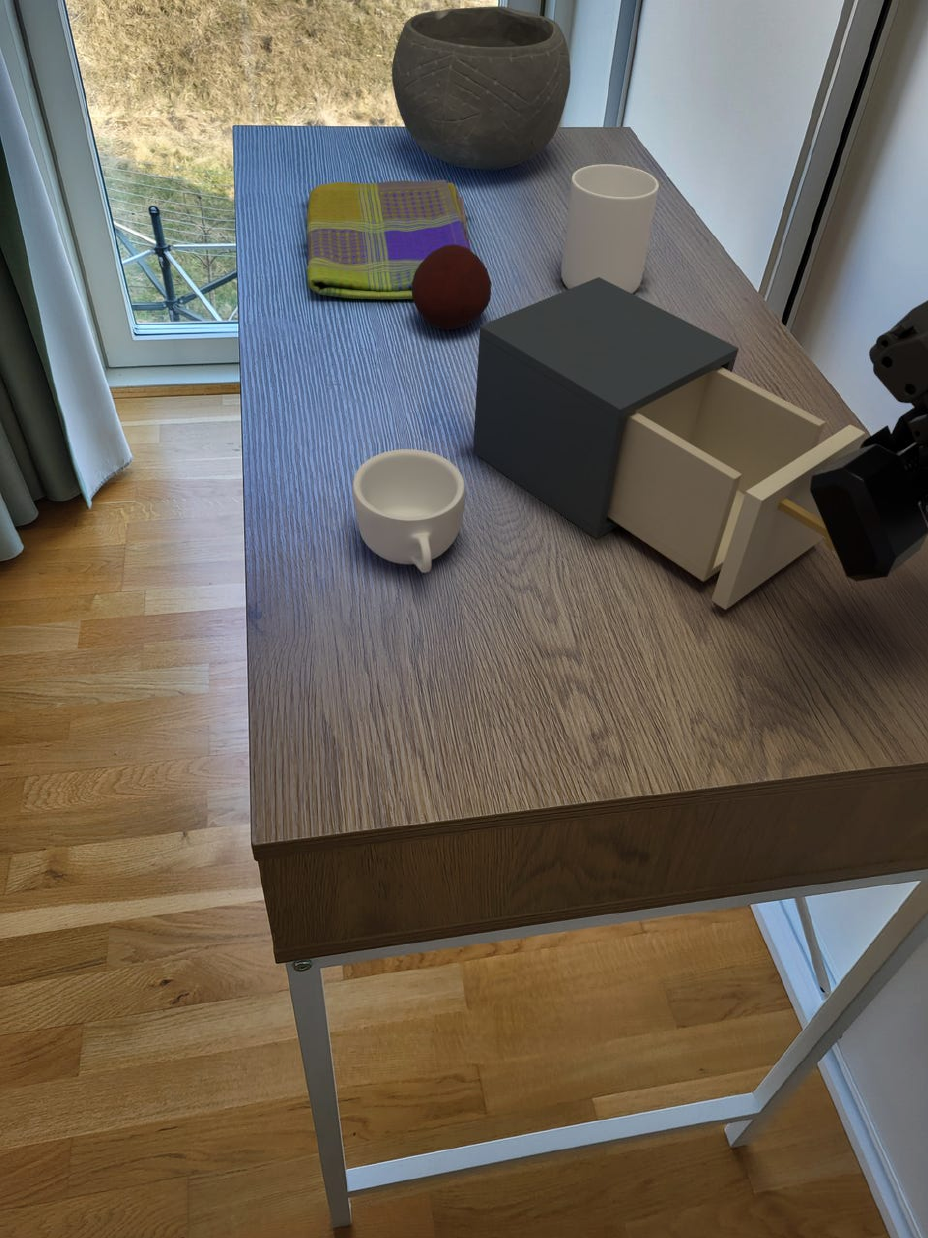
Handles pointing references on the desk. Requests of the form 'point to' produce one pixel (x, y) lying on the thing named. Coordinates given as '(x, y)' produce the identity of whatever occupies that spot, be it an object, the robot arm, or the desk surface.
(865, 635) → the desk surface
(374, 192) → the dish towel
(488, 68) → the bowl
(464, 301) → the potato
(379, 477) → the teacup
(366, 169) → the desk surface
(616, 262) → the cup
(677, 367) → the cabinet
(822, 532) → the drawer
